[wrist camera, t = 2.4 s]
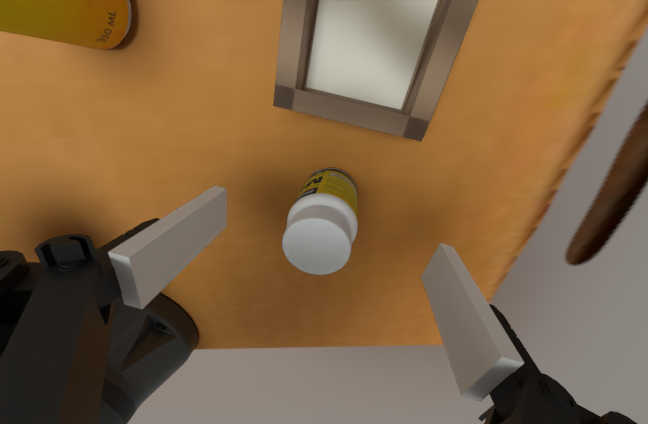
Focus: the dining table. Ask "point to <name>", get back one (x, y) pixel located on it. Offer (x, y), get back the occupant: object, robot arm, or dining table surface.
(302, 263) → the supplement bottle
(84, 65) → the dining table surface
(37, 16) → the yellow canister
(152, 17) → the dining table surface
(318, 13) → the divided tray
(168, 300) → the robot arm
